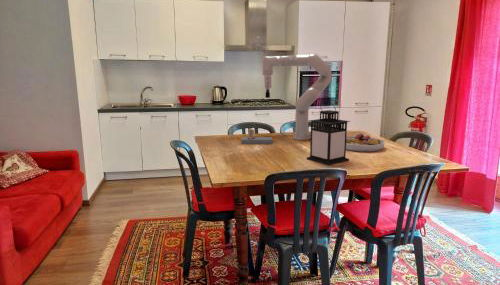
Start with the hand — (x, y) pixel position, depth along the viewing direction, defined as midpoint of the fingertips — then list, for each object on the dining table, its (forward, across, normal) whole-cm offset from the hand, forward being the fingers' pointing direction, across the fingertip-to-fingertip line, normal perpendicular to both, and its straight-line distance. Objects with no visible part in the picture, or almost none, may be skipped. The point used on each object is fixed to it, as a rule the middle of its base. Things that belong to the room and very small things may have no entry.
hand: (267, 97), depth 278 cm
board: (+31, -19, +8) cm, 37 cm away
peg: (+31, -19, +12) cm, 38 cm away
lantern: (+31, -70, -34) cm, 84 cm away
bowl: (+32, -36, -62) cm, 79 cm away
